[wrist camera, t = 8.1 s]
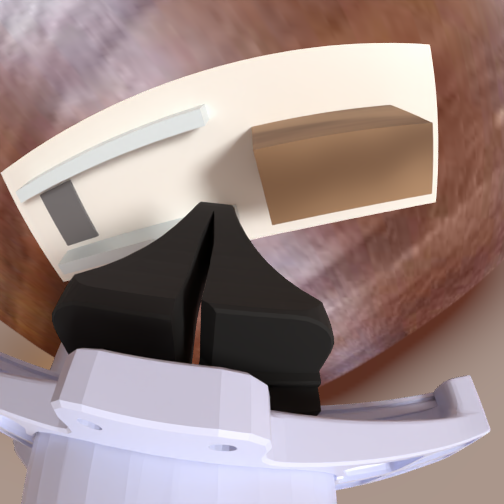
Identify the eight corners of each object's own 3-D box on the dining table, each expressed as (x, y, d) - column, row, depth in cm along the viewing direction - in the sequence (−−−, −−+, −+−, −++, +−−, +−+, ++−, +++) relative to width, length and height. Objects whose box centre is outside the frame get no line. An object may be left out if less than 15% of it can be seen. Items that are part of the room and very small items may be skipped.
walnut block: (394, 161, 18) (431, 193, 14) (266, 185, 19) (272, 225, 15) (390, 104, 15) (432, 123, 11) (251, 126, 16) (252, 150, 12)
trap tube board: (430, 197, 20) (448, 215, 18) (66, 276, 24) (54, 296, 22) (423, 44, 13) (446, 45, 11) (6, 168, 17) (-14, 183, 15)
